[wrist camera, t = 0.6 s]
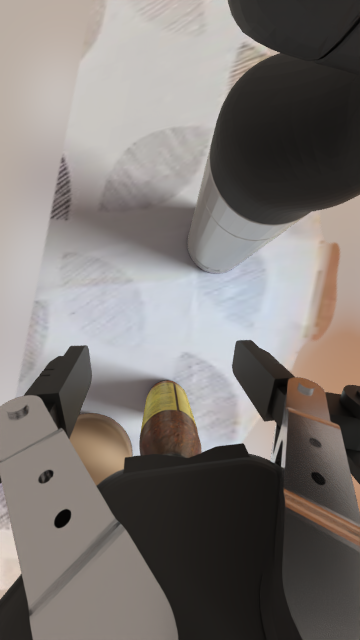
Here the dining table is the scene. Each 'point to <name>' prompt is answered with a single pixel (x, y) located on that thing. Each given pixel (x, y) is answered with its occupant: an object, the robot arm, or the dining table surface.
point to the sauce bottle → (168, 423)
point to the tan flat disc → (100, 445)
